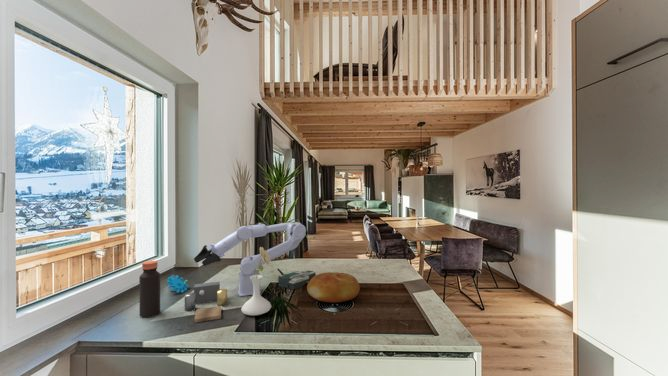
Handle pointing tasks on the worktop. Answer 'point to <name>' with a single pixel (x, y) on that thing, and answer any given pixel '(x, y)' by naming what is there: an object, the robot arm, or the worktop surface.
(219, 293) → the brass fitting
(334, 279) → the bread
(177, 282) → the blue bumpy lump
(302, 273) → the communication device
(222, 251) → the robot arm
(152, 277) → the bottle
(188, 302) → the steel fitting
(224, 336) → the worktop surface
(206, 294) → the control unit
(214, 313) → the walnut pad
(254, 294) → the flower in vase
